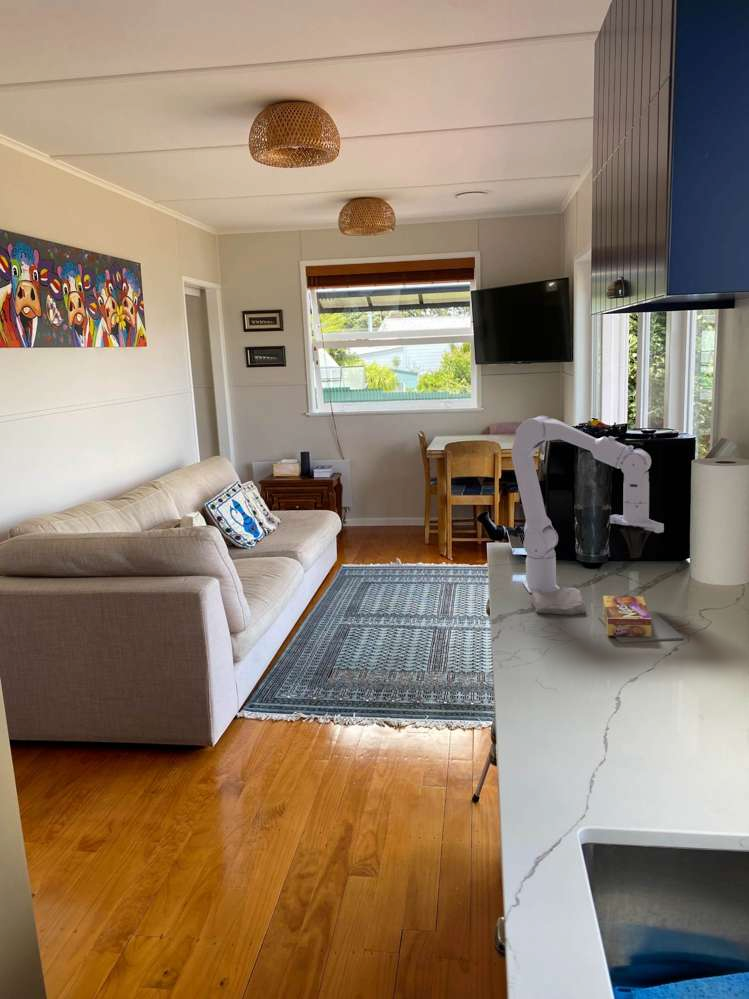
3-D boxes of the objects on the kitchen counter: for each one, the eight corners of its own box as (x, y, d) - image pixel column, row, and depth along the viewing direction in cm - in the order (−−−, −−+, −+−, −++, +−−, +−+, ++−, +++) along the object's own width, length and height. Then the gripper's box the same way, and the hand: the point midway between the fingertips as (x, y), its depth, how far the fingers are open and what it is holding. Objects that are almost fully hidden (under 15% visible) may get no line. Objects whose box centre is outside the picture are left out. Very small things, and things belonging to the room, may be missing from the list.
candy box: (602, 613, 171) (606, 636, 156) (602, 595, 170) (606, 616, 155) (643, 614, 168) (651, 637, 154) (643, 596, 168) (651, 617, 153)
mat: (598, 618, 168) (598, 616, 168) (656, 615, 168) (656, 613, 168) (620, 642, 153) (620, 641, 153) (683, 639, 153) (683, 637, 153)
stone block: (588, 621, 172) (579, 600, 181) (588, 603, 170) (579, 582, 179) (536, 625, 173) (529, 603, 182) (535, 607, 171) (529, 586, 180)
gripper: (600, 499, 180) (600, 553, 182) (648, 508, 167) (648, 566, 170) (621, 495, 183) (621, 549, 186) (670, 503, 171) (669, 560, 173)
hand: (635, 557), depth 178 cm, fingers closed
